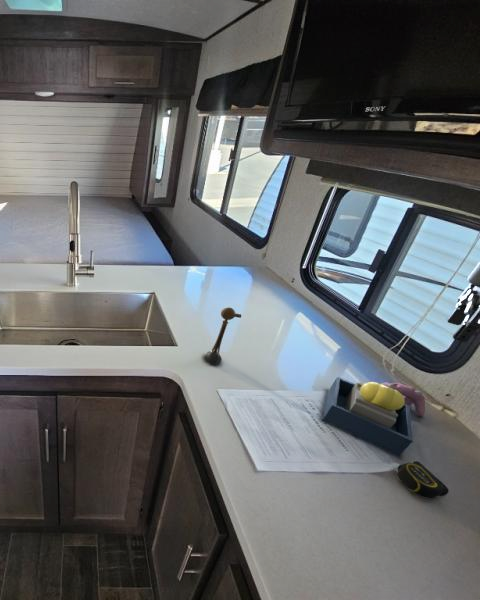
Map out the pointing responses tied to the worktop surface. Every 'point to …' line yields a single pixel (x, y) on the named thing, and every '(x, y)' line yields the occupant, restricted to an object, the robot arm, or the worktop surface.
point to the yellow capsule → (382, 396)
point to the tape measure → (421, 480)
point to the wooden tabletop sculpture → (220, 337)
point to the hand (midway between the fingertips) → (455, 331)
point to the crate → (367, 421)
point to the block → (368, 408)
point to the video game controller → (409, 396)
